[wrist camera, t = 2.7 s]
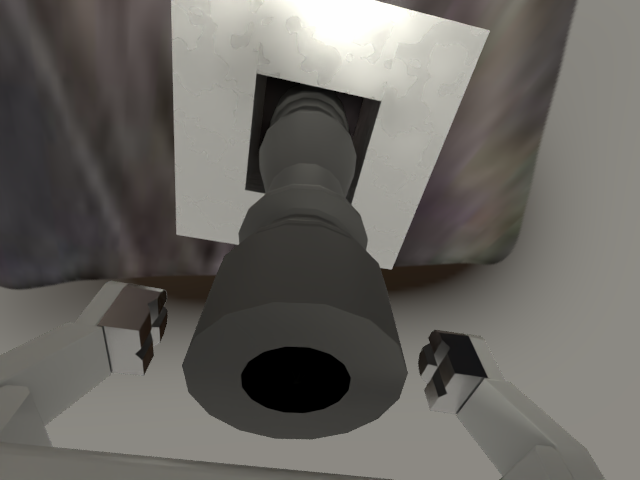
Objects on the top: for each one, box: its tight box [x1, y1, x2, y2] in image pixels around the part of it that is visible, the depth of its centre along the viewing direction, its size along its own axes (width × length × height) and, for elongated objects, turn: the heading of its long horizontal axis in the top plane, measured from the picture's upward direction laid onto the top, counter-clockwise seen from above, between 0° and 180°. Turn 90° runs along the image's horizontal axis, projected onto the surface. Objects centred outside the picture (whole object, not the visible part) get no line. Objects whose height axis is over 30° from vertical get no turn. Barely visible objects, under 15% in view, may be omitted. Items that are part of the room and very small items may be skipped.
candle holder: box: [182, 84, 408, 439], centre depth 19 cm, size 6×6×25 cm
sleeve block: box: [171, 0, 490, 270], centre depth 27 cm, size 18×18×7 cm
